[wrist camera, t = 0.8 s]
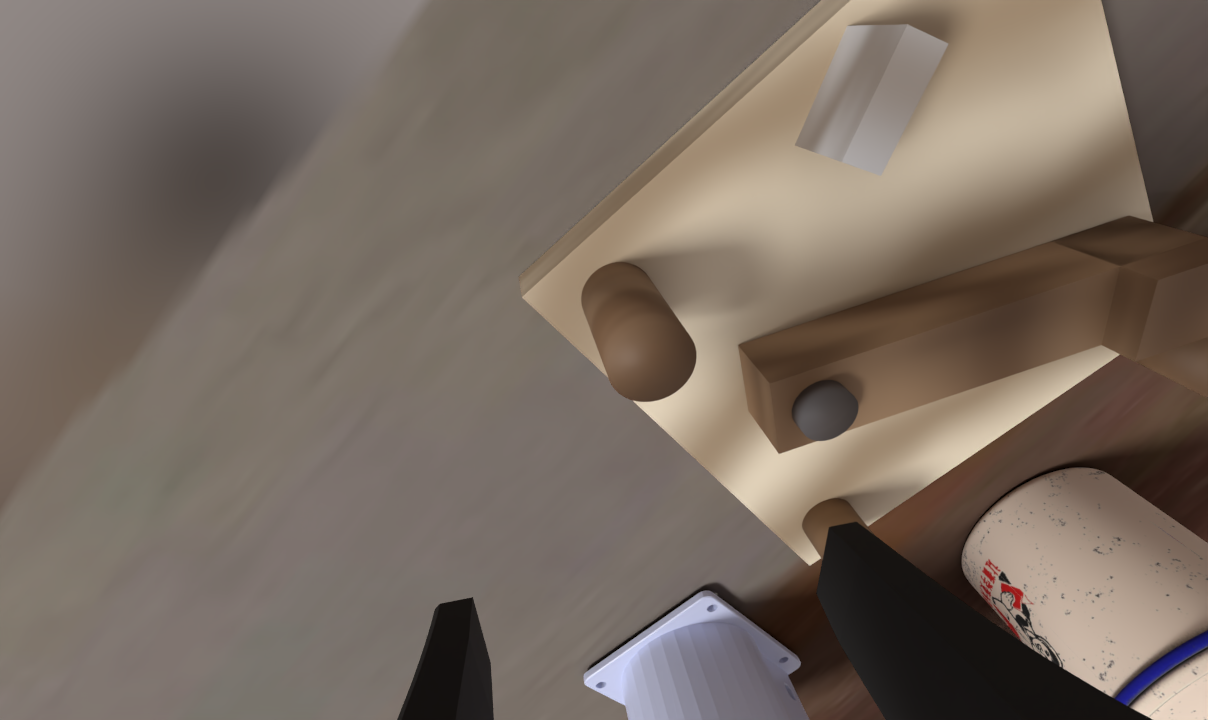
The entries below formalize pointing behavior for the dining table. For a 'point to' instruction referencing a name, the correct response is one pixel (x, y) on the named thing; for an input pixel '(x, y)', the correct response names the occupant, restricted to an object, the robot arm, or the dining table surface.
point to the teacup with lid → (1100, 588)
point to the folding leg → (980, 329)
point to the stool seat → (851, 233)
